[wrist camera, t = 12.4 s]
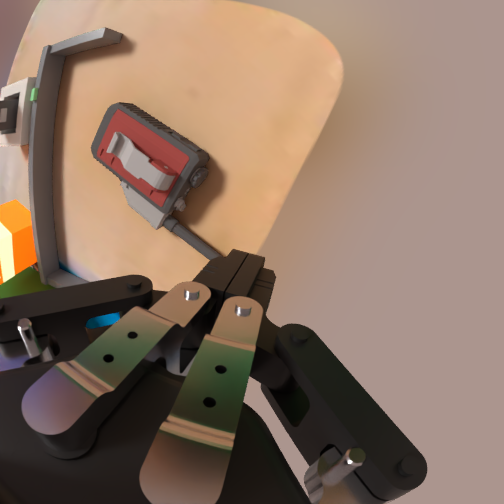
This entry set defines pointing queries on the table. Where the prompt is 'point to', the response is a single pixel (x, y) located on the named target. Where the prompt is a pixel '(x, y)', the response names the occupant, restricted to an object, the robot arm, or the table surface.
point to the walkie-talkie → (151, 167)
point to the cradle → (43, 149)
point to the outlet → (19, 112)
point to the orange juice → (15, 240)
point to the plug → (8, 114)
